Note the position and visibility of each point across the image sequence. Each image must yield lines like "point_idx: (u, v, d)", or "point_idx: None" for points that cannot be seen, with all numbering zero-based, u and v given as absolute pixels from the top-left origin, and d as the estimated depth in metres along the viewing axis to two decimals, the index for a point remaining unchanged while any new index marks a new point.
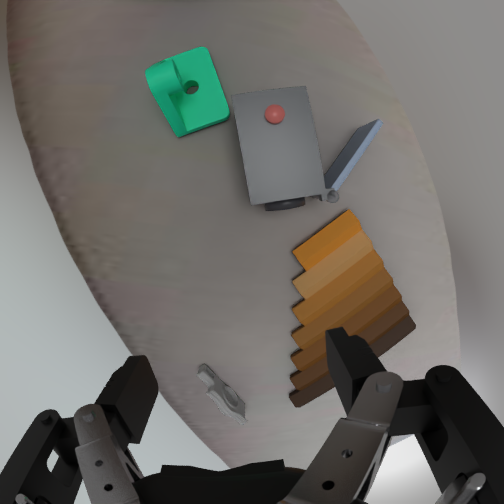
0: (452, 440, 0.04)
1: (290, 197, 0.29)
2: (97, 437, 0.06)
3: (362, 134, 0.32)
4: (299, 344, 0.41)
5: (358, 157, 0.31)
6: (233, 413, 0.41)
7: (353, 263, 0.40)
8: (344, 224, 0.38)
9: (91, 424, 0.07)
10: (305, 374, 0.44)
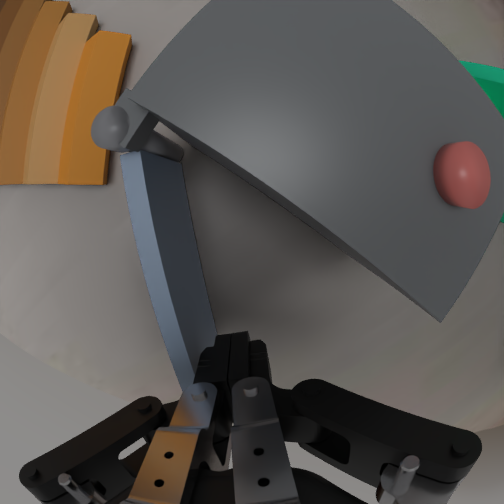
0: (355, 442, 0.06)
1: (216, 0, 0.06)
2: (192, 423, 0.07)
3: (201, 344, 0.13)
4: None
5: (153, 295, 0.10)
6: None
7: (29, 129, 0.13)
8: (82, 150, 0.14)
9: (195, 406, 0.08)
10: None
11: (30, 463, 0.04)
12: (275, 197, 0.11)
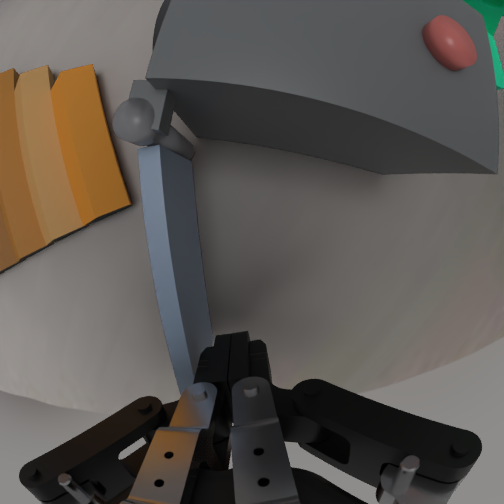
0: (355, 442, 0.06)
1: None
2: (192, 423, 0.07)
3: (199, 344, 0.13)
4: None
5: (160, 293, 0.10)
6: None
7: (31, 192, 0.14)
8: (97, 180, 0.14)
9: (195, 406, 0.08)
10: None
11: (30, 463, 0.04)
12: (307, 133, 0.11)
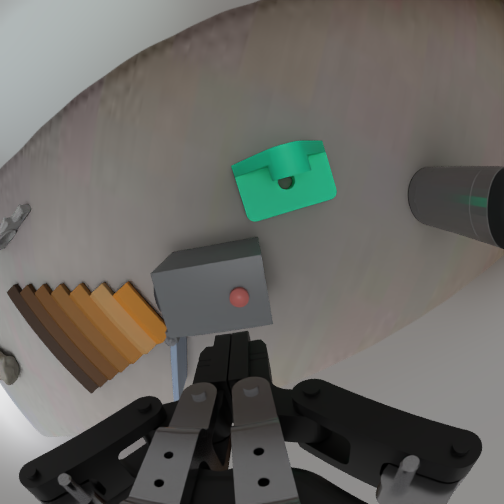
0: (356, 442, 0.06)
1: (161, 308, 0.30)
2: (192, 423, 0.07)
3: (181, 382, 0.39)
4: (53, 293, 0.38)
5: (173, 372, 0.35)
6: None
7: (126, 337, 0.40)
8: (156, 330, 0.39)
9: (194, 406, 0.08)
10: (33, 299, 0.39)
11: (30, 463, 0.04)
12: None
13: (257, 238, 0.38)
